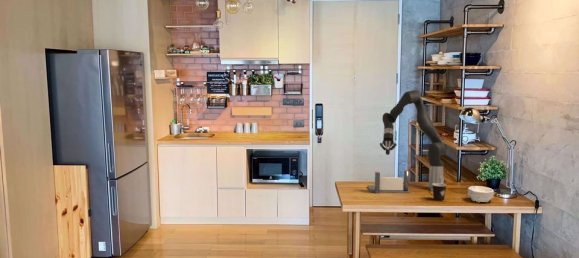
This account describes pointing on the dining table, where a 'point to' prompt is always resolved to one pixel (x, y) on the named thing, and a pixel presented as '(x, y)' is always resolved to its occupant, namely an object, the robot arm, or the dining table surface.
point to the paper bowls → (480, 193)
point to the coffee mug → (438, 191)
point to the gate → (391, 183)
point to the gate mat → (372, 190)
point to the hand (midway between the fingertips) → (387, 154)
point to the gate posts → (377, 181)
